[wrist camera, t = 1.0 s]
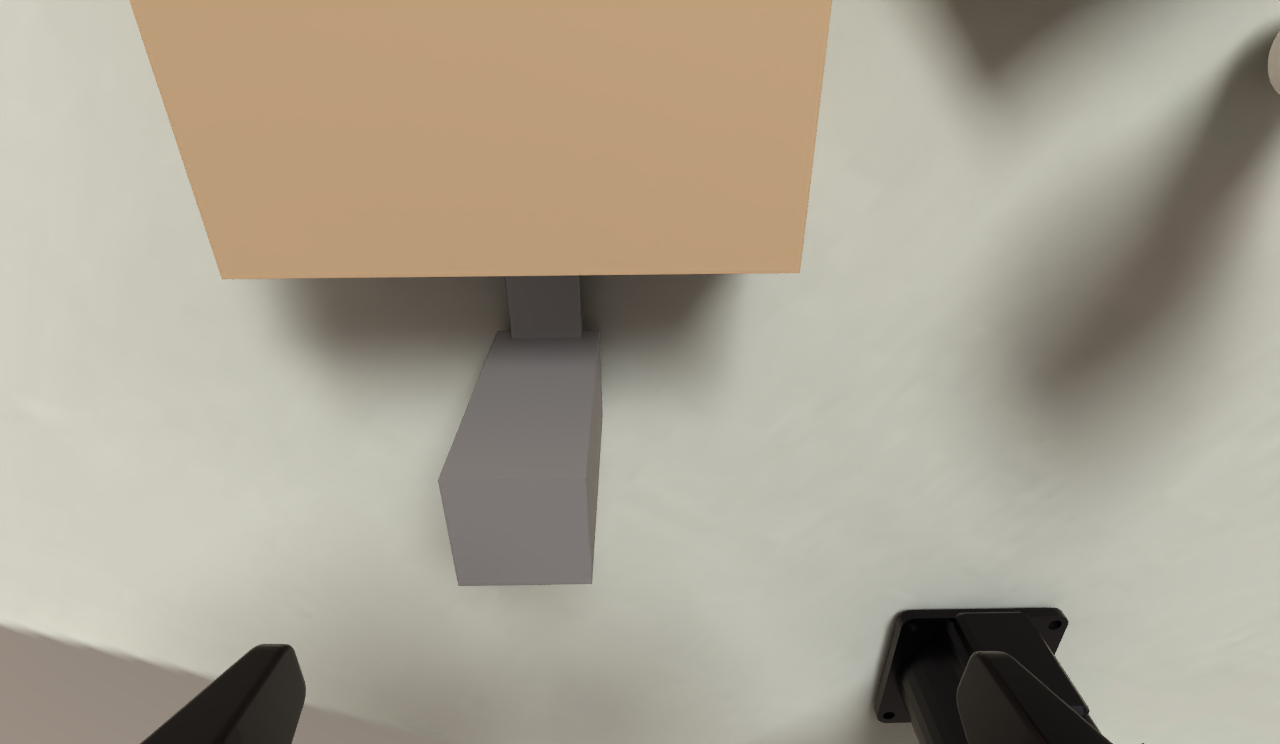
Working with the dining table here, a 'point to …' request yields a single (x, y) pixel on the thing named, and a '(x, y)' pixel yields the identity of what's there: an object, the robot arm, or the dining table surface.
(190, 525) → the dining table surface
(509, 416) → the inner tray
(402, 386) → the dining table surface
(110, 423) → the dining table surface
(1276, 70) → the lightbulb
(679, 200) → the wooden drawer box
